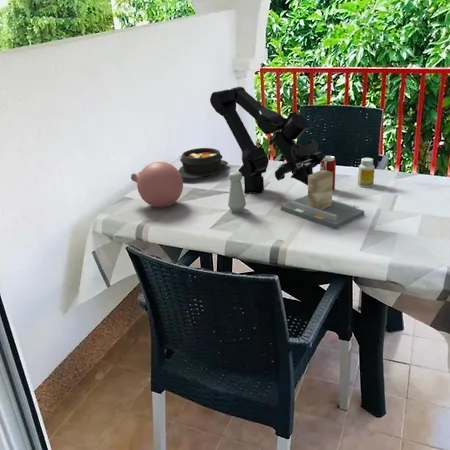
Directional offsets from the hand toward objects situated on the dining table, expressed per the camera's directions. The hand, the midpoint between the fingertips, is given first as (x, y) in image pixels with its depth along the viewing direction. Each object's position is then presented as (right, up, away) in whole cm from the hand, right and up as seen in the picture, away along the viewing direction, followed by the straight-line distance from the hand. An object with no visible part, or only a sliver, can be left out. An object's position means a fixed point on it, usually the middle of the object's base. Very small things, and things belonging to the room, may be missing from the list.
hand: (314, 187), depth 158 cm
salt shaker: (-24, -7, +7) cm, 26 cm away
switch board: (+2, -8, +1) cm, 8 cm away
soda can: (+8, 0, +19) cm, 21 cm away
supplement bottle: (+22, +2, +21) cm, 31 cm away
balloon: (-52, -5, +16) cm, 54 cm away
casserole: (-37, +9, +45) cm, 59 cm away
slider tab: (+2, -6, +1) cm, 6 cm away
